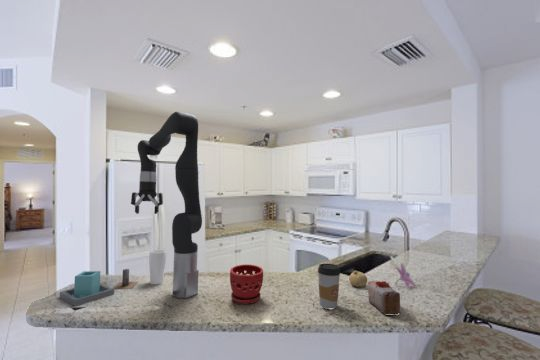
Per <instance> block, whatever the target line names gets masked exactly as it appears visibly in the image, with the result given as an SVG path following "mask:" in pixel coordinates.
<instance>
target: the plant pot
mask: <svg viewBox="0 0 540 360" xmlns="http://www.w3.org/2000/svg"><path fill="white" fill-rule="evenodd" d="M229 271H230V272H229V284H230V289H231V291H232V292H231V295H230V297H231V299H232V300H233V301H234V302H236V303H238V304H243V305H249V303H250V304H254V303H256V302H257V301H259V300H260V298H261V290H262V287H263V281H264V268H263V267H261V266H259V265H255V264H239V265H235V266H233V267H231V268H230V270H229ZM253 272H254V273H253Z"/></svg>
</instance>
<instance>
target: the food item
mask: <svg viewBox="0 0 540 360" xmlns="http://www.w3.org/2000/svg"><path fill="white" fill-rule="evenodd" d="M367 290H368V291H367V294H368V302H369V301H370V303H371V304H372V305H373V306H374V307H376V308H377V309H378V310H379V311H380V312H381V311H382V312H383V314H384V315H385V314H398V313H400V314H401V294H400V293H399V292H398V291H396V290H395V289H394V288H393V287H392V286H390V282H387V281H385V280H382V281H381V280H370V281H367ZM382 312H381V313H382Z"/></svg>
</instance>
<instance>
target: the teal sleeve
mask: <svg viewBox="0 0 540 360" xmlns="http://www.w3.org/2000/svg"><path fill="white" fill-rule="evenodd" d="M100 283H101V271H100V270H92V271H91V270H89V271H87V270H85V271H82V272H80V273H78V274H77V275H75V276H74V284H73V285H74V287H73V288H74V295H73V296H74V297H76V298H81V297H85V296H88V295H92V294H95V293H98V292H101V291H100Z"/></svg>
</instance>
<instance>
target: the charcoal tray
mask: <svg viewBox="0 0 540 360" xmlns="http://www.w3.org/2000/svg"><path fill="white" fill-rule="evenodd" d="M114 294H115V289H113V287H110V286H108V285H106V284H103V283H101V282H100V292H98V293H95V294H92V295H88V296H85V297H81V298H76V297H74V287H73V288H70V289H66V290H65V289H64V290H62V291H59V298H60V299H61V300H63V301H65V302H66V303H68V304H70V305H72V306H74V307H70V309H71V310H73V311H75V312H76V311H78V310H82V309H85V308H86V306H81V305H85V304H88V303H91V302H93V301H94V302H95V301H97V300H101V299H103V298H106V297H110V296H113V295H114ZM80 306H81V307H80Z"/></svg>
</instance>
